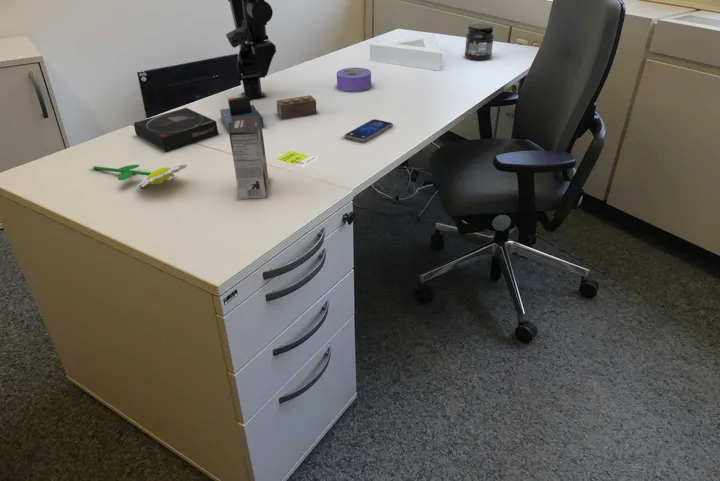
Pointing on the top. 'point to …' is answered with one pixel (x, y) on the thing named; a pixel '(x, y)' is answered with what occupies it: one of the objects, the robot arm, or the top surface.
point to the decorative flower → (152, 178)
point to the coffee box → (249, 157)
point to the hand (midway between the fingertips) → (260, 71)
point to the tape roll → (353, 79)
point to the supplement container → (479, 41)
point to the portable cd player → (176, 129)
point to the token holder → (296, 107)
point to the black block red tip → (239, 105)
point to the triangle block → (408, 52)
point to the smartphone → (368, 130)
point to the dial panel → (227, 117)
